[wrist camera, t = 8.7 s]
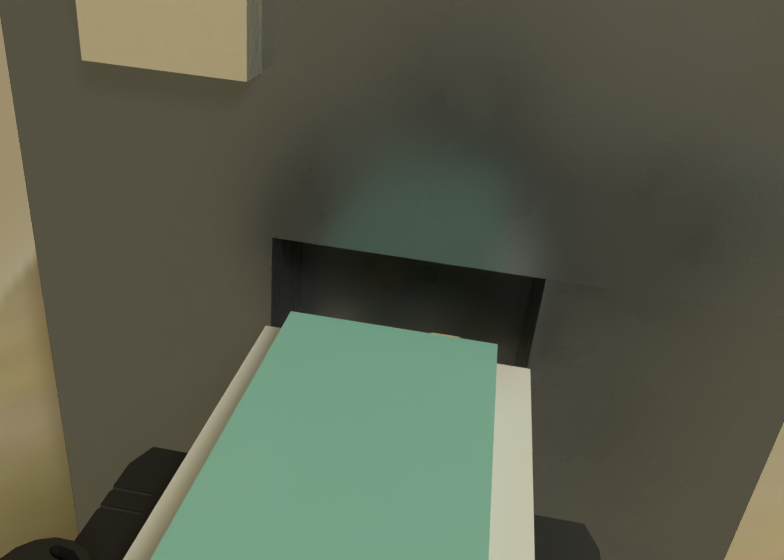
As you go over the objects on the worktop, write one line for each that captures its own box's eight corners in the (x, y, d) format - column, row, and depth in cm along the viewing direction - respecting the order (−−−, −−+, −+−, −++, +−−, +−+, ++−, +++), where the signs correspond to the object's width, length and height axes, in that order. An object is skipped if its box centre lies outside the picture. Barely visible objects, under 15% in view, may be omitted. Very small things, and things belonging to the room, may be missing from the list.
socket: (622, 645, 23) (642, 788, 20) (148, 551, 25) (81, 667, 21) (914, -143, 13) (1075, -164, 9) (77, -220, 15) (-78, -265, 11)
